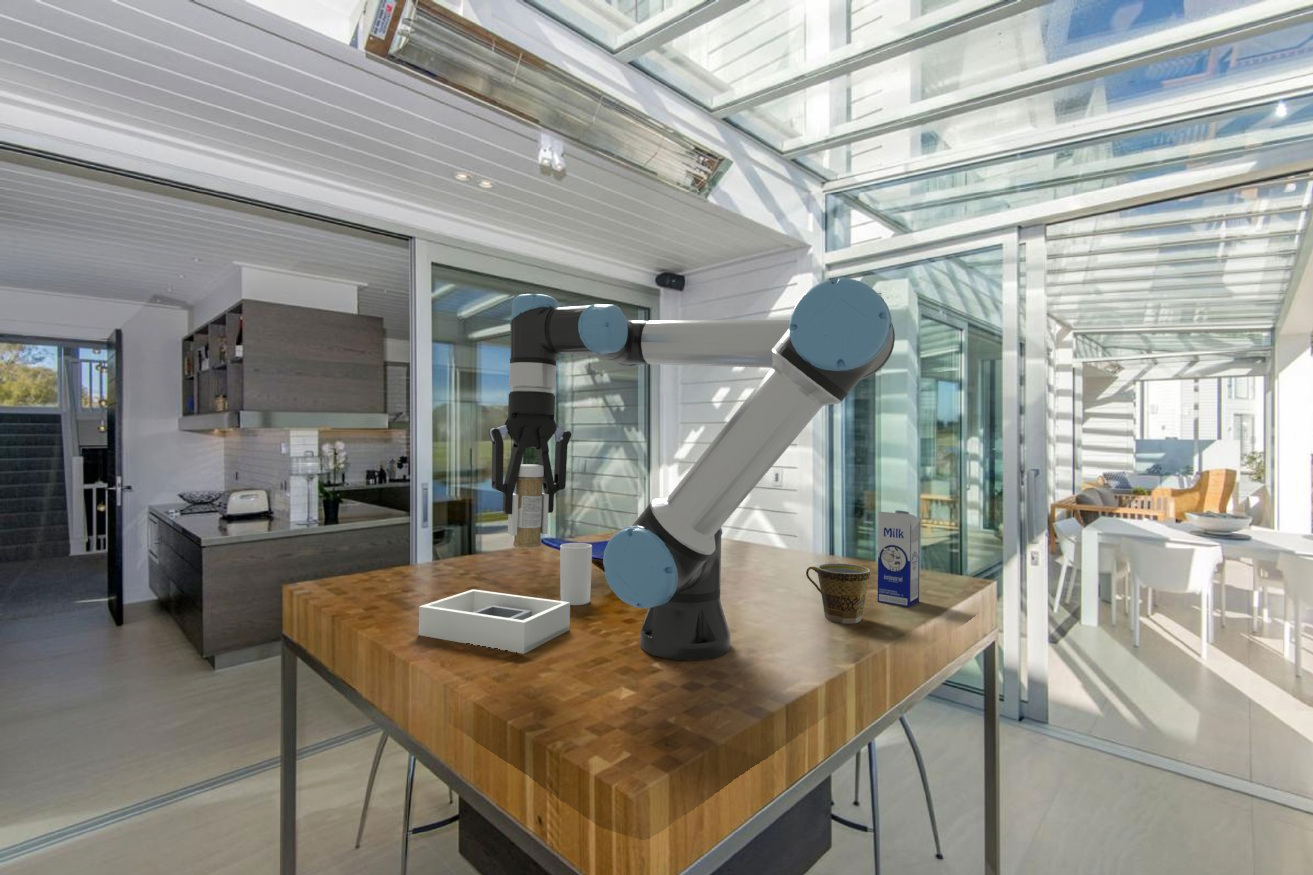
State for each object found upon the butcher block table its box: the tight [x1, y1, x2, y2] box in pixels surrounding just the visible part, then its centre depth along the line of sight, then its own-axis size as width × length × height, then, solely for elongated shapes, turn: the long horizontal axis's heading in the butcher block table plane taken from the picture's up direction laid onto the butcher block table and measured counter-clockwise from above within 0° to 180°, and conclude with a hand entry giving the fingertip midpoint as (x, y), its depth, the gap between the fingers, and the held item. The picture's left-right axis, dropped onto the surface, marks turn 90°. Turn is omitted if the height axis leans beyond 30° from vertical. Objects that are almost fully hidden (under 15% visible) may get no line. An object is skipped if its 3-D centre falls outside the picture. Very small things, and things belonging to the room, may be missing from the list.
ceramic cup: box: [805, 562, 871, 625], centre depth 122 cm, size 13×10×10 cm
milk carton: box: [877, 509, 921, 608], centre depth 135 cm, size 7×7×20 cm
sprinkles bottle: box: [512, 463, 544, 549], centre depth 101 cm, size 5×5×14 cm
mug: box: [559, 542, 593, 606], centre depth 133 cm, size 10×7×12 cm, turn 4°
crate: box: [418, 588, 571, 655], centre depth 109 cm, size 22×14×5 cm, turn 67°
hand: (527, 533), depth 101 cm, fingers closed on sprinkles bottle, 4 cm apart
